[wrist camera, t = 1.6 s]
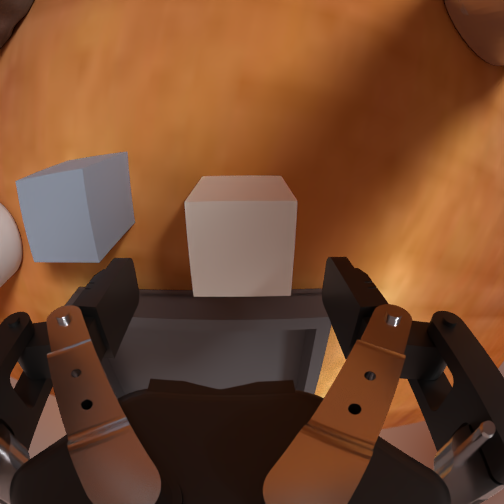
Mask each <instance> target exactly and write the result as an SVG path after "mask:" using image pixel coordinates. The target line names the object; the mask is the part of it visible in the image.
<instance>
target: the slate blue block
mask: <svg viewBox="0 0 504 504" xmlns="http://www.w3.org/2000/svg"><path fill="white" fill-rule="evenodd" d="M16 186H17V192H18V198H19V203H20V208H21V213H22V217H23V222H24V226H25V230H26V234H27V238H28V242H29V245H30V249H31V252H32V256H33V259H34V262H83V263H100V261H101V260H102V259H103V258H104V257H105V255H106V254H107V253H108V252H109V251H110V250H111V249H112V247H113V246H114V245H115V244H116V243H117V242H118V241H119V240H120V238H121V237H122V236H123V235H124V234H125V233H126V232H127V231H128V230H129V229H130V227H131V226H132V225H133V224H134V223H135V219H134V212H133V204H132V196H131V187H130V177H129V166H128V154H127V152H121V153H113V154H106V155H99V156H93V157H86V158H81V159H75V160H69V161H66V162H63V163H60V164H57V165H55V166H52V167H49V168H47V169H44V170H41V171H39V172H36V173H34V174H31V175H29V176H27V177H24V178H22V179H19V180H17V181H16Z"/></svg>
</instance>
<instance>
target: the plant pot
mask: <svg viewBox="0 0 504 504" xmlns="http://www.w3.org/2000/svg"><path fill="white" fill-rule="evenodd" d="M33 1H34V0H0V48H1V47H2V46H3V45H4V43H5V42H6V41H7V40H8V39H9V38H10V36H11V34H12V30H13V28H14V26H15V25H16V24H17V22H18V21H19V20H20V19H21V18H23V17H24V16H25V15H26V14H27V12H28V10H29V9H30V7H31V5H32V3H33Z"/></svg>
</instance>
